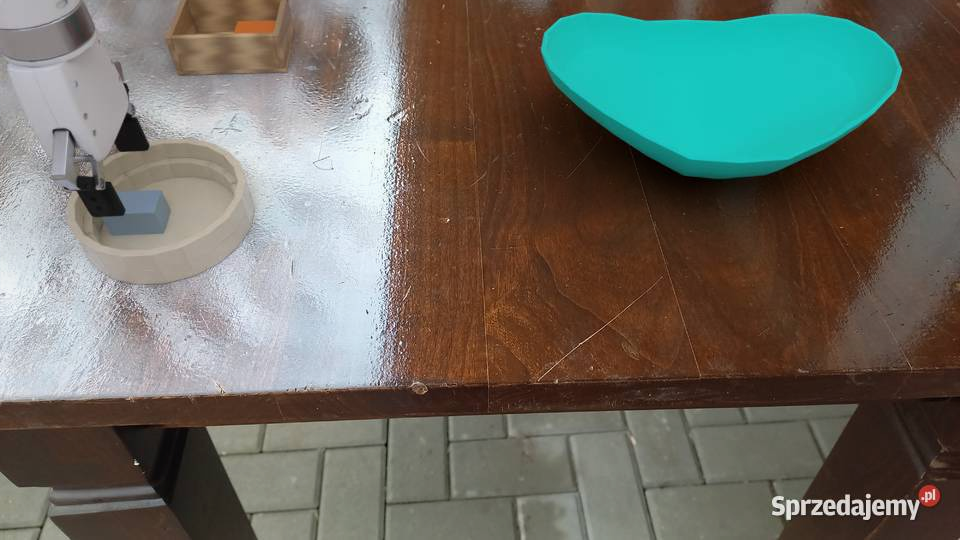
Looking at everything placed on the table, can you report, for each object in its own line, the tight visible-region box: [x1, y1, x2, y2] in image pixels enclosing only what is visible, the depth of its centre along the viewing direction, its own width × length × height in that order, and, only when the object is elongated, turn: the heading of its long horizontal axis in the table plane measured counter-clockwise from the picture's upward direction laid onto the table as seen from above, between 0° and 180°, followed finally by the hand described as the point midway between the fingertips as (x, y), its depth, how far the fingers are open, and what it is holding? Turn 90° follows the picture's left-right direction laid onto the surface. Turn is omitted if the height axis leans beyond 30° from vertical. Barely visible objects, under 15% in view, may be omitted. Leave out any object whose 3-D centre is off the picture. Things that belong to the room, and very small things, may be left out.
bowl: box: [66, 138, 256, 286], centre depth 74 cm, size 18×18×5 cm
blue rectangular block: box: [102, 190, 171, 235], centre depth 74 cm, size 6×4×3 cm, turn 94°
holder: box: [164, 0, 296, 76], centre depth 96 cm, size 15×11×6 cm
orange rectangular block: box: [234, 20, 276, 34], centre depth 96 cm, size 6×4×3 cm, turn 94°
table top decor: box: [540, 12, 903, 180], centre depth 82 cm, size 40×28×13 cm
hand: (122, 180), depth 70 cm, fingers open, 9 cm apart
